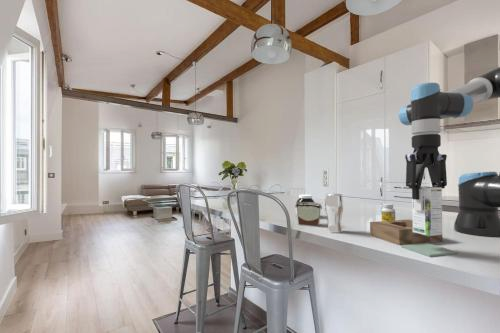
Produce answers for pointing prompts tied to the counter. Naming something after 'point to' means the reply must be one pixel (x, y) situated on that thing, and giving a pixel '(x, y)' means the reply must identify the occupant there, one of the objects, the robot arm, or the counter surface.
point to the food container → (308, 213)
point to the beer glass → (334, 212)
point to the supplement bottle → (388, 212)
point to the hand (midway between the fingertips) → (426, 209)
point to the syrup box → (429, 212)
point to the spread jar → (304, 199)
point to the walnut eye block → (400, 232)
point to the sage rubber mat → (429, 249)
